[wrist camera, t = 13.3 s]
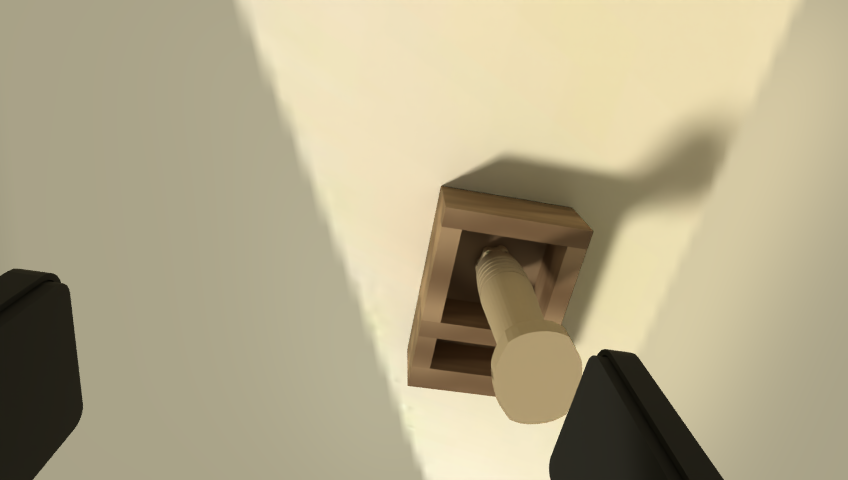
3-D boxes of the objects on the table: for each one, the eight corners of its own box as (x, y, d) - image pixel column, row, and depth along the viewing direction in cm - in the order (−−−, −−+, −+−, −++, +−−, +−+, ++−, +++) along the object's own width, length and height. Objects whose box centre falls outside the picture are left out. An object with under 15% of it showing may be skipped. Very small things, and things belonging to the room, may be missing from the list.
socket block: (441, 185, 39) (445, 207, 35) (572, 207, 40) (593, 231, 36) (407, 349, 45) (407, 385, 41) (521, 364, 47) (534, 401, 42)
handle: (522, 222, 40) (584, 327, 26) (522, 291, 42) (579, 420, 28) (462, 227, 40) (493, 335, 26) (466, 296, 42) (496, 427, 29)
